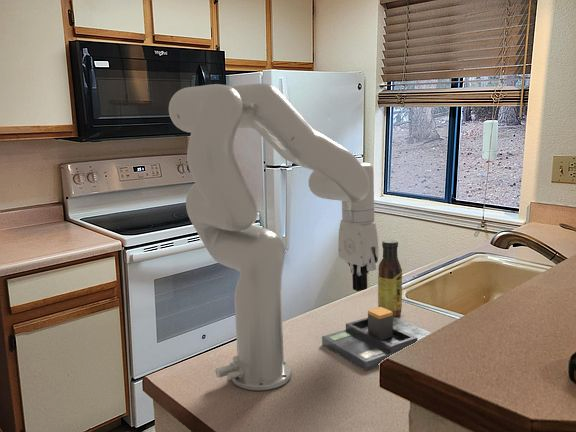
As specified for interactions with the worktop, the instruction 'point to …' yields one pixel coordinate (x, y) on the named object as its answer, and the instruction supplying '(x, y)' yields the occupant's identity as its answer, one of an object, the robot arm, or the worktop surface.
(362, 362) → the panel
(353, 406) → the worktop surface
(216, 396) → the worktop surface
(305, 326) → the worktop surface
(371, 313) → the toggle
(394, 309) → the sauce bottle
